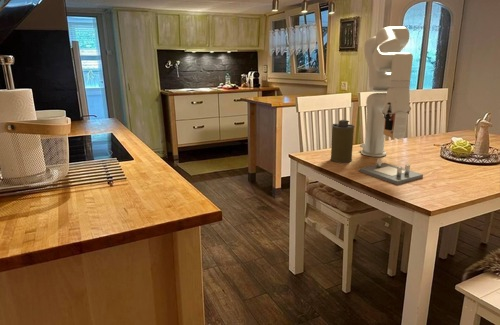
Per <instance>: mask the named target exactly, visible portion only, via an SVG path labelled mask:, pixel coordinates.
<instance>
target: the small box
mask: <svg viewBox="0 0 500 325" xmlns="http://www.w3.org/2000/svg"><path fill="white" fill-rule="evenodd" d="M389 116H391V115H389ZM408 119H409V114H408V113H407V112H397V113H394V114H393V119H392V121H393V126H392V130H386V129H385V124H384V133H383V134H384V135H385V137H386V136H387V137H388V138H391V139H405V138H406V134H407V127H408ZM385 121H386V120H385Z"/></svg>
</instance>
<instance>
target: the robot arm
mask: <svg viewBox="0 0 500 325" xmlns="http://www.w3.org/2000/svg"><path fill="white" fill-rule="evenodd" d="M409 40H410V32H409V29H408V28H407V27H405V26H386V27H382V28H380V29H378V31H377V32H376V34H375V36H372V37H369V38H367V39H366V40H365V41H364V47H363V49H364V50H363V51H364V58H365V60H366V62H367V66H368V86H369V90H370V91H371V92H375V93H370V94H369V95H368V96H367V97H366V102H365V103H366V104H365V105H366V126H365V137H364V142H362V143H361V144H360V145H359V148H362V150H361V151H360V154H362V155H363V156H365V157H373V158H379V157H380V158H381V157H384V156H385V157H386V156H387V151H385V149H384V148H385V138H386V135H384V134H383V133H384V124H385V129H386V130H392V126H393V121H392V119H393V114H394V113H397V112H407V113H408V115H409V114H410V111H411V110H412V107H411V106H410V100H411V99H410V97H411V93H410V87H411V78H412V76H411V75H412V71H413V70H412V67H413V60H414V57H413V56H414V55H413V54H412V53H411V52H401V51H402V50H403V49H404V48H405V47H406V46H407V45H408V43H409ZM389 115H391V116H389ZM385 120H386V121H385Z"/></svg>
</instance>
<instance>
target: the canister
mask: <svg viewBox="0 0 500 325" xmlns="http://www.w3.org/2000/svg"><path fill="white" fill-rule="evenodd" d="M349 122H350V121H349V120H347V119H340V120H339V121H338V123H332V125H331V128H332V129H331V130H332V131H331V151H330V152H331V153H330V160H331V161H332V162H334V163H338V164H346V163H347V164H348V163H351V162H352V161H353V159H352V158H353V144H354V143H353V142H354V129H355V125H354V124H349Z"/></svg>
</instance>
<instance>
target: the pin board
mask: <svg viewBox="0 0 500 325" xmlns="http://www.w3.org/2000/svg"><path fill="white" fill-rule="evenodd" d="M397 167H398V166H397V165H393V164H391V163H387V162H381V168H377V163H376V164H372V165H369V166H368V165H367V166H364V167H359V169H358V172H359V173H363V174H365V175H367V176H371V177H373V178H376V179H379V180H382V181H385V182H387V183H390V184H394V185H396V186H398V185H401V184H405V183H409V182H412V181H416V180H420V179H423V178H424V174H423V173H420V172H416V171H413V170H410V171H409V175H405V174H404V173H405V168H403V167H402V173H401V177H397V176H396V175H397Z"/></svg>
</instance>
